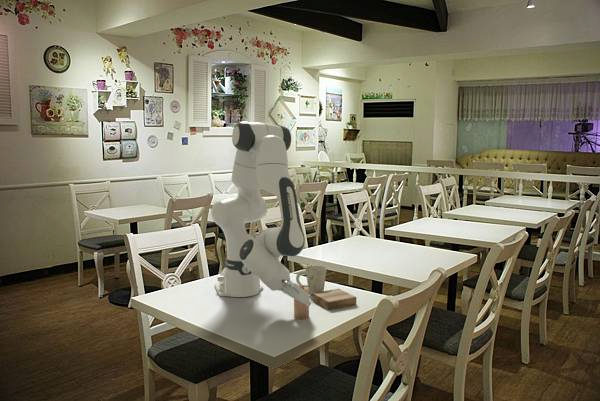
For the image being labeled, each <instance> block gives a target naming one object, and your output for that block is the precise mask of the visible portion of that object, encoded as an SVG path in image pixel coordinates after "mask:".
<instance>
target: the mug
mask: <svg viewBox="0 0 600 401" xmlns="http://www.w3.org/2000/svg"><path fill="white" fill-rule="evenodd" d="M301 275H306V281H307V284H303V283H301V281H300V277H301ZM326 276H327V267H326V266H322V265H309V266H306V267H305V270H301V271H299V272H298V273H297V274H296V276H295V281H296V284H297V285H304V287H307V288H309V294H310V295H311V294H312V295H313V293H316V292H322V291H325V284H326Z"/></svg>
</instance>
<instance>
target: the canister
mask: <svg viewBox="0 0 600 401" xmlns="http://www.w3.org/2000/svg"><path fill="white" fill-rule="evenodd" d="M298 285H299V284H298ZM304 285H305V284H302V285H299V286H300V287H301V288H302V289H303V290H304V291H306V292H307V293H308V294H309V295H310V293H309V288H308V287H304ZM308 300H309V301H310V298H309V299H308ZM293 317H294V318H295V319H297V320H307V319H308V318H309V317H310V306H309V307H308V306H306V305H305V304H302V303H300V302H299V301H297V300H295V299H294V298H293ZM306 318H307V319H306Z"/></svg>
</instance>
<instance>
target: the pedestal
mask: <svg viewBox="0 0 600 401" xmlns="http://www.w3.org/2000/svg"><path fill="white" fill-rule="evenodd" d="M312 302H314V303H316V304H318V305H319V306H321V307H323V308H325V309H326V310H328V311H332V310H336V309H342V308H348V307H351V306H357V296H355V295H354V294H351V293H349V292H347V291H345V290H343V289H340V288H336V289H329V290H328V289H327V290H324V291H322V292H316V293H313V294H312Z"/></svg>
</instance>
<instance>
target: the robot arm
mask: <svg viewBox="0 0 600 401" xmlns="http://www.w3.org/2000/svg"><path fill="white" fill-rule="evenodd" d="M290 131H291V130H290V129H289V128H288V127H286V126H283V125H280V124H279V125H277V124H274V123H268V122H248V121H239V122H237V123H236V124H235V125H234V127H233V130H232V134H231V136H232V137H231V139H232V145H233V147H235V149H236V153H235V156H234V161H233V167H232V173H231V182H232V184H233V185H234V186H235V187H236V188H237V196H236V197H234V196H233V197H228V198H223V199H219V200H218V201H216V202H214V203H213V204H212V207H211V212H210V214H211V218H212V221H213V222H214V223H215V224H216V225H217V226H219V228H220V229H221V230H222V232H223V234H224V237H225V243H226V259H225V264H224V265H225V267H224V268H223V269H222V271H221V272H220V273H219V275H217V282H216V283H214V288H215V291H217V294H218V296H219V297H220V296H221V297H231V298H247V297H253V296H255V295H257V294H259V293H260V292H261V291H262V290H264V287H263V285H265V286H266V287H267V288H268V289H269V290H271V291H274V292H275V291H280V292H282V293H284V294H286V295H287V296H289V297H290V298H293V300H294V299H295V300H297V301H299V302H300V303H302V304H305V305H306V306H308V307H309V308H310V306H311V304H312V302H311V301H310V297H311V296H310V293H309V294H308V293H307V292H306V291H304V290H303V289H302V288H301V287H300V286H299V284H298V283H297V282H294V281H292V280H291V272H290V270H289V269H288V268H287V267H286V266H285V265H284V264H283V263H282V262H281V261H280V260H279V258H280V257H282V256H285V257H296V256H298V255H299V254H300V253H302V251H303V249H304V246H305V243H306V242H305V241H306V238H305V234H304V230H303V227H302V224H301V219H300V212H299V205H298V198H297V193H296V191H297V190H296V187H295V185H294V182H293V181H292V179H291V177H290V174H289V164H288V163H289V161H288V153H287V151H288V150H289V149H290V147H291V143H292V133H291V132H290ZM261 189H262V190H264V191H265V192H267V193H270V194H272V195H274V196H275V197H276V198H277V200H278V205H279V212H280V218H281V219H280V220H281V224H280V226H278V227H268V228H264V229H263V230H261V231H260V232H259V234H258V235H257V236H255V237H253V236H252V235H251V234H249V233H248V232H247V229H246V224H249V223H250V224H251V223H256V222H257V221H260V220H261V219H263V218H264V217H265V216H266V215H267V213H268V205H267V202H266V200H265V199H264V197H263V196H262V192H261ZM261 282H262V283H263V285H261ZM308 299H309V300H308Z"/></svg>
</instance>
